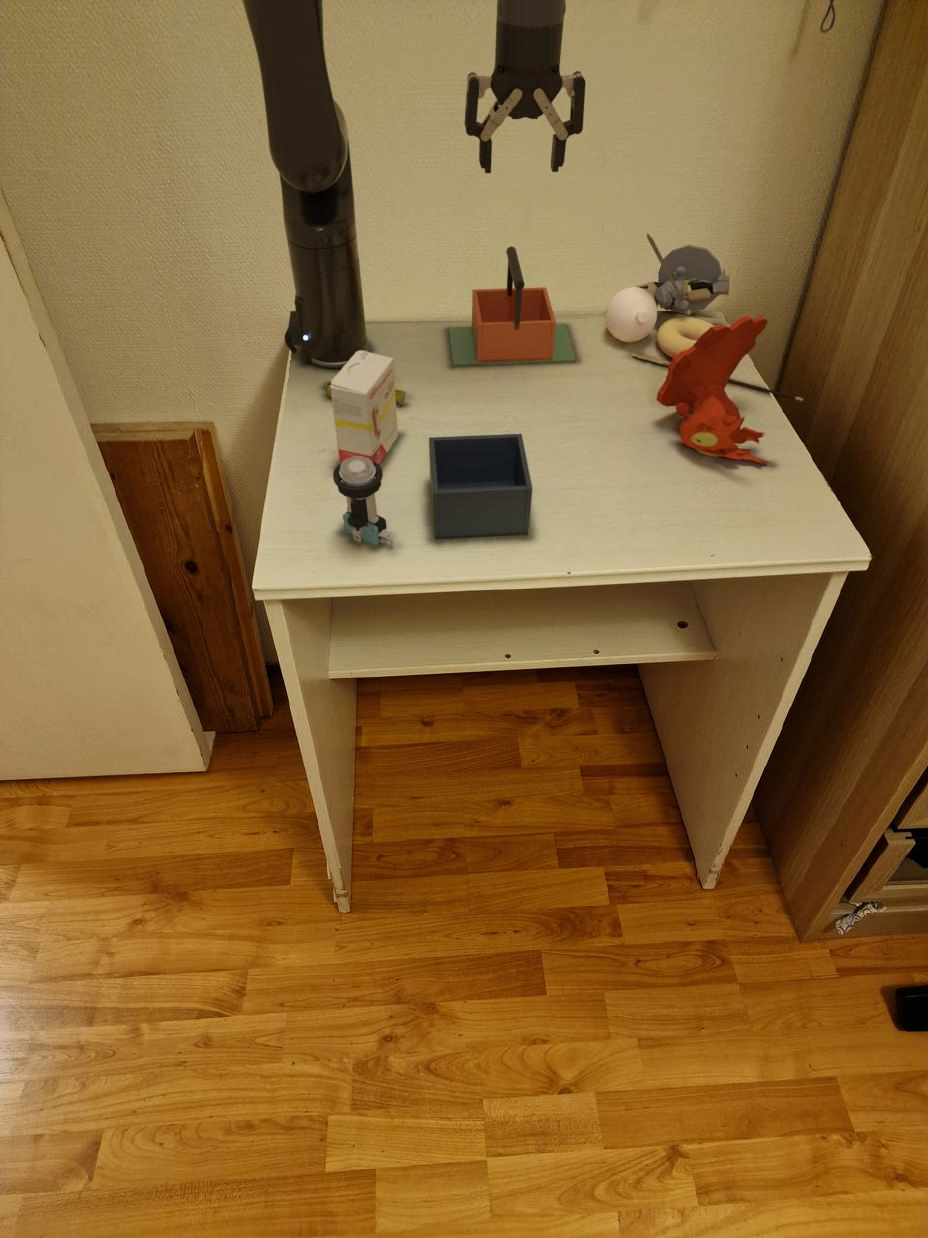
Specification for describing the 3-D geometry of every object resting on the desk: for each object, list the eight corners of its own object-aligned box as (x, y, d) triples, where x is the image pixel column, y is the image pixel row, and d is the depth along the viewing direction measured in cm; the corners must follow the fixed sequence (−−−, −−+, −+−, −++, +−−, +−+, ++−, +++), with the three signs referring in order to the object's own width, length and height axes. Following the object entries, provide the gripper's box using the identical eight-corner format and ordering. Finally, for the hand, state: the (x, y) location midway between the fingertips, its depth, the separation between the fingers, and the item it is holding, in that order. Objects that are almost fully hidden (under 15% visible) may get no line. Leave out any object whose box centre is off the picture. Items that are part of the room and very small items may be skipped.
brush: (630, 353, 118) (803, 399, 110) (633, 349, 118) (804, 395, 111) (629, 357, 118) (801, 404, 111) (632, 354, 119) (802, 400, 112)
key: (408, 388, 110) (393, 407, 107) (409, 396, 111) (394, 416, 108) (332, 371, 113) (315, 390, 110) (333, 379, 114) (316, 398, 111)
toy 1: (714, 177, 108) (606, 203, 115) (709, 245, 105) (599, 267, 112) (734, 277, 125) (639, 294, 132) (731, 338, 122) (634, 353, 129)
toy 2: (640, 380, 100) (712, 464, 94) (761, 288, 97) (843, 369, 90) (658, 425, 111) (723, 503, 105) (767, 344, 108) (841, 419, 102)
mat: (453, 366, 116) (453, 363, 116) (448, 330, 123) (448, 327, 123) (575, 361, 117) (575, 359, 117) (564, 326, 124) (565, 323, 124)
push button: (406, 534, 94) (401, 466, 86) (378, 561, 91) (371, 493, 83) (361, 513, 96) (352, 444, 88) (332, 538, 93) (321, 470, 85)
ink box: (374, 475, 100) (366, 393, 91) (338, 466, 101) (326, 385, 92) (400, 435, 106) (395, 355, 97) (366, 428, 107) (357, 347, 98)
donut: (687, 385, 117) (732, 358, 120) (695, 361, 113) (742, 333, 116) (641, 345, 121) (685, 320, 124) (647, 321, 117) (693, 295, 119)
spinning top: (618, 347, 128) (649, 355, 117) (581, 321, 125) (608, 326, 114) (645, 302, 126) (679, 306, 115) (608, 275, 123) (639, 276, 112)
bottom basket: (434, 539, 93) (432, 493, 88) (430, 483, 99) (428, 437, 94) (528, 534, 94) (532, 488, 88) (518, 479, 100) (521, 433, 95)
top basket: (477, 362, 116) (478, 281, 107) (471, 326, 123) (472, 247, 114) (552, 360, 117) (560, 278, 108) (542, 324, 123) (549, 244, 114)
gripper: (587, 4, 92) (571, 158, 104) (464, 5, 91) (462, 159, 103) (599, 22, 87) (581, 181, 99) (469, 23, 86) (466, 183, 99)
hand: (520, 170), depth 101 cm, fingers open, 8 cm apart
